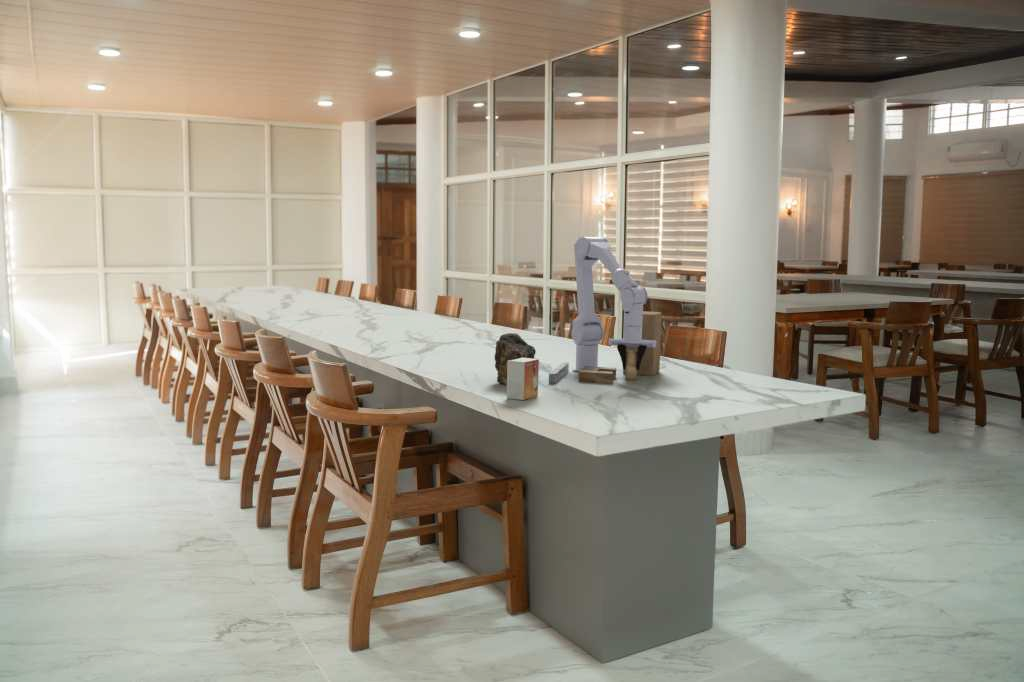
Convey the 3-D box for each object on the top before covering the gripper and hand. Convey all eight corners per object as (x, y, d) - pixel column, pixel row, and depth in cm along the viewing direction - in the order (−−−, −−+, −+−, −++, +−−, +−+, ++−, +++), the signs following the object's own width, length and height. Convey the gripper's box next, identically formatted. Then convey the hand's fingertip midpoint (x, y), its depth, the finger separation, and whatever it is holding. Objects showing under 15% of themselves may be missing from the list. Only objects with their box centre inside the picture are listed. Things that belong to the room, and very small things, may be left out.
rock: (513, 393, 249) (478, 377, 259) (542, 388, 258) (507, 373, 268) (521, 346, 246) (485, 332, 255) (550, 343, 255) (514, 329, 265)
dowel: (625, 378, 268) (626, 350, 267) (637, 379, 268) (638, 351, 266) (624, 380, 265) (625, 351, 264) (636, 381, 264) (637, 352, 263)
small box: (523, 400, 229) (524, 362, 228) (506, 398, 232) (506, 360, 231) (538, 396, 236) (539, 358, 235) (521, 394, 239) (522, 357, 238)
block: (584, 375, 272) (584, 366, 272) (615, 377, 270) (616, 367, 270) (578, 381, 261) (579, 371, 260) (611, 383, 259) (611, 373, 258)
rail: (562, 371, 280) (562, 362, 280) (568, 371, 280) (568, 362, 279) (548, 383, 257) (549, 373, 257) (555, 383, 256) (555, 374, 256)
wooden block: (622, 374, 277) (624, 312, 275) (630, 369, 287) (632, 310, 284) (652, 376, 274) (655, 314, 271) (659, 372, 283) (662, 312, 281)
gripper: (607, 326, 262) (606, 369, 264) (655, 328, 259) (653, 372, 260) (610, 323, 269) (609, 366, 270) (657, 325, 265) (655, 368, 267)
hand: (631, 369), depth 266 cm, fingers open, 4 cm apart
